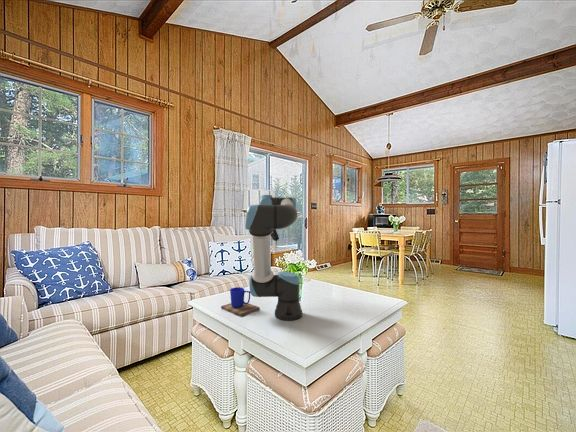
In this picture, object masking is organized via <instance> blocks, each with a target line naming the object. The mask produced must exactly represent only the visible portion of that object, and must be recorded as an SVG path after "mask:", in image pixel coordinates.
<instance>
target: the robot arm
mask: <svg viewBox="0 0 576 432" xmlns="http://www.w3.org/2000/svg"><path fill="white" fill-rule="evenodd" d="M297 218H298V211H297V199H296V197H291V196H287V197H276V196H275V197H274V196H273V195H272V194H262V195H261V197H260V200H259V204H258V203H257V204H251V205H248V207H247V210H246V215H245V224H244V225H245V230H248V233H249V234H250V236H252V250H253V267H254V271H253V272H252V273H251V275H250V276H249V279H248V283H249V291H250V292H251V293H250V296H252V297H254V298H255V297H256V298H272V297H273V298H277V303H276V306H275V310H274V316H275V318H276V319H278V320H281V321H296V320H300V319H302V317H303V310H302V306H301V303H300V277H299V275H298V274H296V273H295V272H292V271H283V270H282V271H278V273H277V274H275V273H274V270H272V268H271V267H272V266H271V259H272V258H271V249H272V251H277V245H278V244H277V243H278V241H279V240H280V237H279V234H278V231H277V230H283V229H286V228H288V227H290V226H292V225H293V224H294V223H295V222H296V221H297ZM271 238H272V240H271ZM271 241H272V248H271Z"/></svg>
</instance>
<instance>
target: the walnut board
mask: <svg viewBox="0 0 576 432" xmlns="http://www.w3.org/2000/svg"><path fill="white" fill-rule="evenodd" d="M244 302H245V303H247V302H246V301H244ZM220 309H221V310H224V311H225V312H228V313H230V314H233V315H236V316H238V317H243V316H246V315H249V314H251V313H255V312H257V311H260V306H258V305H254V304H251V303H250V302H249V303H248V304H244V303H243V306H242V307H239V308H235V307H232V305H231V302H230V303H228V304H223V305H221V306H220Z"/></svg>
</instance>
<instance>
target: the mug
mask: <svg viewBox="0 0 576 432" xmlns="http://www.w3.org/2000/svg"><path fill="white" fill-rule="evenodd" d="M229 292H230V303H231V305H232V307H235V308H239V307H242V306H243V303H244V304H248V303H249V304H250V300H251V292H250V290H245V288H244V287H241V286H240V287H232V288H230V290H229ZM245 293H248V299H247V302H246V301H245ZM245 302H246V303H245Z"/></svg>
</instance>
